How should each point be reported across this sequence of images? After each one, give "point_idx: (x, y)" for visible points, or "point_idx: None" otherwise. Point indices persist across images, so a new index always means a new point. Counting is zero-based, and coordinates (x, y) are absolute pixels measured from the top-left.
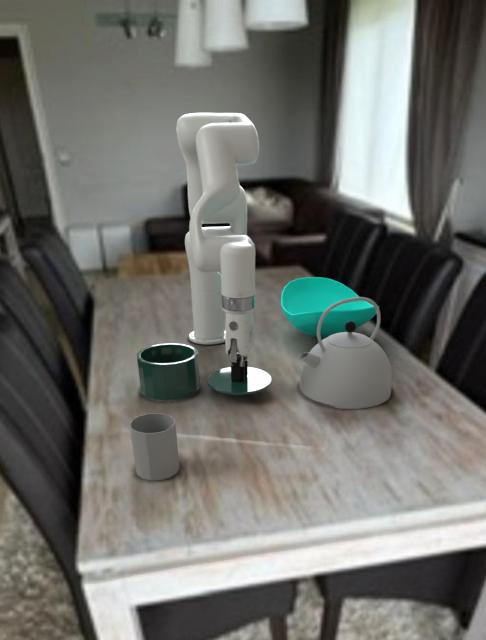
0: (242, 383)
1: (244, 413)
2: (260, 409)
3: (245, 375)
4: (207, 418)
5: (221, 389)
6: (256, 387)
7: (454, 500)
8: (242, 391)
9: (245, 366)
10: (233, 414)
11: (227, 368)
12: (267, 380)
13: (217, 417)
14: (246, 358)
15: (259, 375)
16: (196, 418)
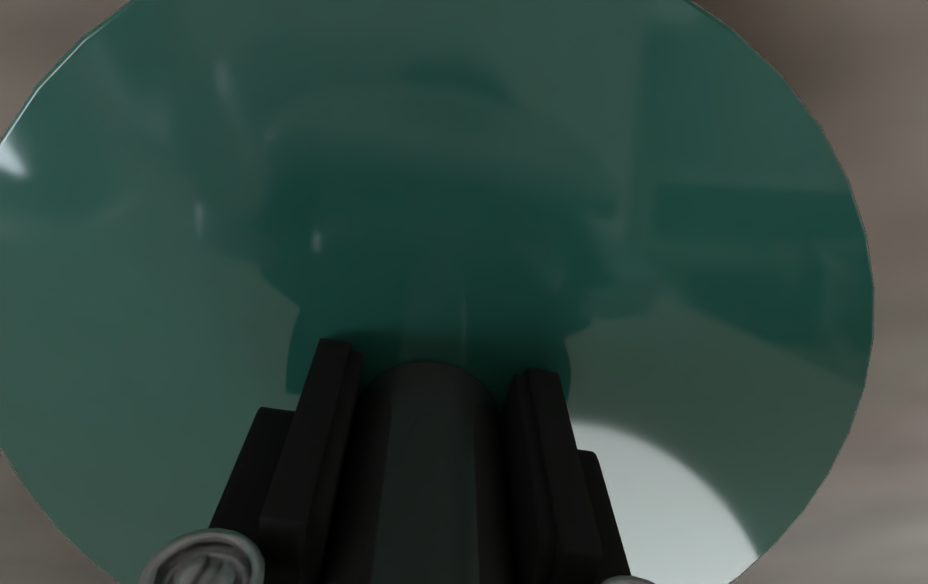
0: (579, 379)
1: (901, 246)
2: (850, 76)
3: (359, 368)
4: (903, 514)
5: (727, 566)
6: (744, 192)
7: None
8: (842, 369)
9: (337, 468)
10: (891, 341)
11: (113, 552)
12: (475, 6)
13: (910, 454)
14: (234, 566)
15: (268, 155)
16: (878, 574)
